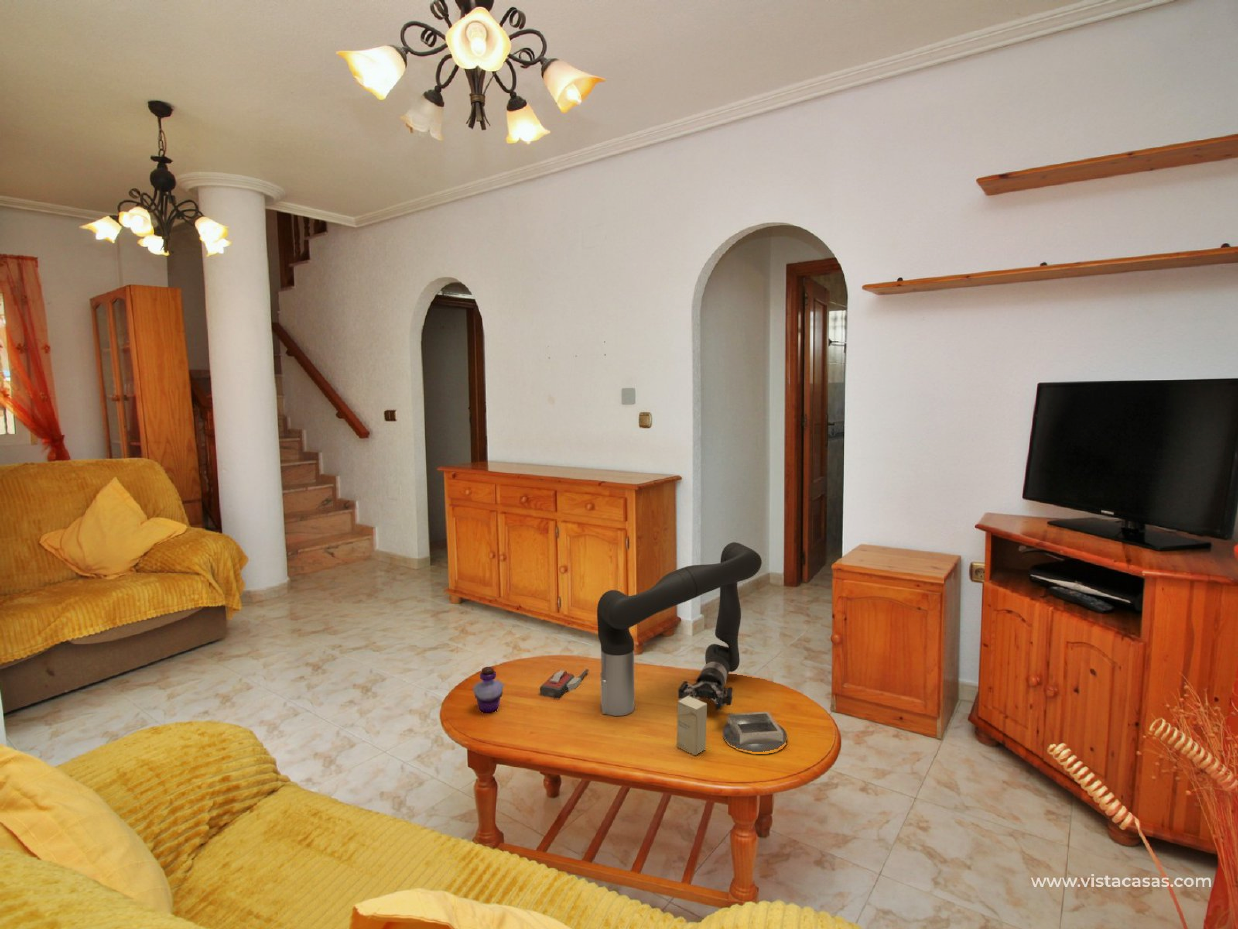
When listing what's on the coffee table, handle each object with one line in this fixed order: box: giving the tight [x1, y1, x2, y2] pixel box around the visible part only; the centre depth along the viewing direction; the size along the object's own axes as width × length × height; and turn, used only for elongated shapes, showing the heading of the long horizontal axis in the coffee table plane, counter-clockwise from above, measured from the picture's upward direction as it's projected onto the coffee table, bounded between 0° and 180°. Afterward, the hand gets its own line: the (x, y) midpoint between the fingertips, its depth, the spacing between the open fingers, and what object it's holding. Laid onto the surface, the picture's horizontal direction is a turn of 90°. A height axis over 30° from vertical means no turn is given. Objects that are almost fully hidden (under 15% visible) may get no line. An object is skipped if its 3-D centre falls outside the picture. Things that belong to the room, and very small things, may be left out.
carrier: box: [722, 711, 788, 752], centre depth 168 cm, size 16×16×4 cm
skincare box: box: [676, 695, 708, 756], centre depth 163 cm, size 6×4×12 cm
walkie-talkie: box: [539, 668, 589, 699], centre depth 200 cm, size 9×4×20 cm
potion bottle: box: [472, 666, 505, 714], centre depth 184 cm, size 9×9×12 cm
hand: (700, 705), depth 173 cm, fingers open, 8 cm apart
